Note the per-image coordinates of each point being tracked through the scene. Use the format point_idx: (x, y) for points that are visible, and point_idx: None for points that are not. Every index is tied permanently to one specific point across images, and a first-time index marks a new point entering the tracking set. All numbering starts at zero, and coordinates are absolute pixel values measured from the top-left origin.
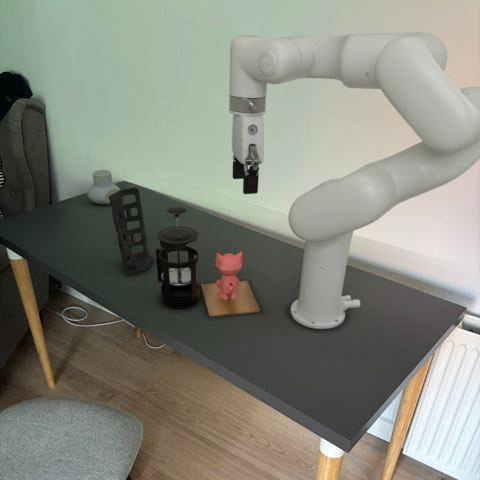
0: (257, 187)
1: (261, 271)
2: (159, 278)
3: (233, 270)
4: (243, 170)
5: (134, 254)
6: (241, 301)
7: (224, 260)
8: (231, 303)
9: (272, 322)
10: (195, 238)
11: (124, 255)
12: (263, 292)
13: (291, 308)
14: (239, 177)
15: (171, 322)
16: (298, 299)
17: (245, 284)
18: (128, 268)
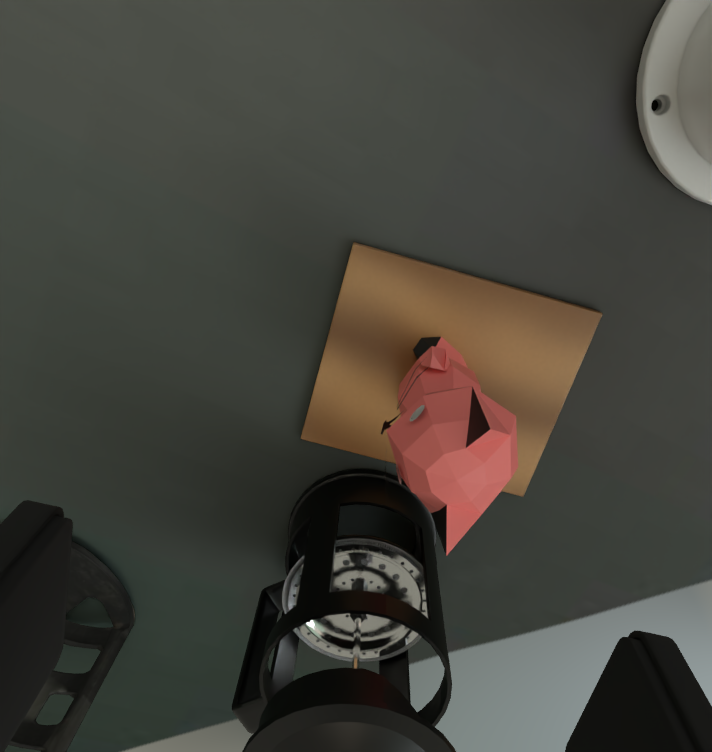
0: (699, 699)
1: (281, 118)
2: (276, 613)
3: (516, 457)
4: (7, 635)
5: None
6: (501, 351)
7: (476, 507)
8: (495, 394)
9: (691, 302)
10: (441, 739)
11: (93, 698)
12: (468, 215)
13: (692, 191)
14: (60, 603)
15: (487, 603)
16: (649, 110)
17: (381, 268)
18: (117, 643)
